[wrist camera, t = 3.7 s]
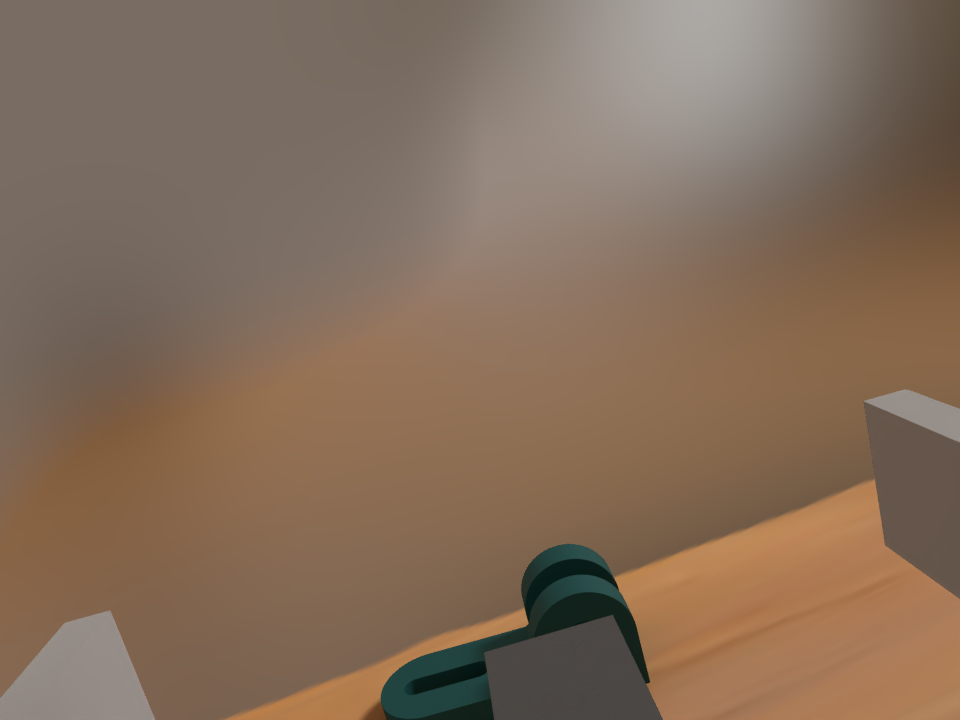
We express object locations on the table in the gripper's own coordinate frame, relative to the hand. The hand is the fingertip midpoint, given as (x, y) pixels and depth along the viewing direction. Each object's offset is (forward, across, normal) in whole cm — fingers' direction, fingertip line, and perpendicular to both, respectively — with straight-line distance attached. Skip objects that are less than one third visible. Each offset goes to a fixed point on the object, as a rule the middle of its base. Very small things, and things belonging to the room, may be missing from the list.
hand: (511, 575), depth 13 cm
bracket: (+35, -2, -28) cm, 44 cm away
